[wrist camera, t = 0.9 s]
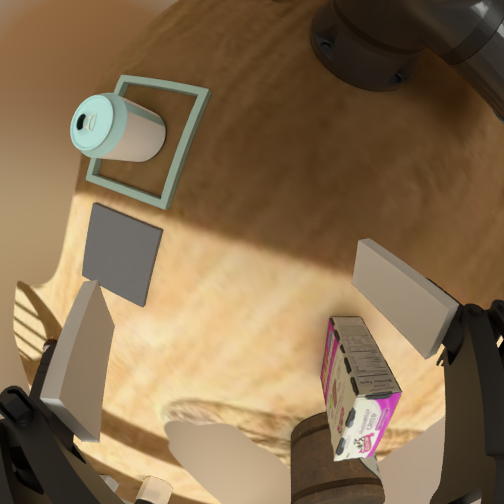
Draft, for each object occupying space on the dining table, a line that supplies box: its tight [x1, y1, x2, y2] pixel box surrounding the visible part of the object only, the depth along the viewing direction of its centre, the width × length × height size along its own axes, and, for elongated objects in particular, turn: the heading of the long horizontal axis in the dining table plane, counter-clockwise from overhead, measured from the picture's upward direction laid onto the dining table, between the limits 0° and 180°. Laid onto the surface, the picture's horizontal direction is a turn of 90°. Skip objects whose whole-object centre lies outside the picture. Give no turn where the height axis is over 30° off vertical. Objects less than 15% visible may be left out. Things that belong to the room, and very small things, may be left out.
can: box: [70, 93, 166, 162], centre depth 26 cm, size 7×7×12 cm
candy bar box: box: [321, 317, 402, 461], centre depth 28 cm, size 11×5×16 cm, turn 1°
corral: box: [86, 75, 212, 210], centre depth 31 cm, size 16×14×2 cm
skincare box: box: [99, 475, 119, 493], centre depth 53 cm, size 8×6×15 cm
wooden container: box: [291, 412, 385, 504], centre depth 31 cm, size 15×15×22 cm
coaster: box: [82, 203, 163, 307], centre depth 36 cm, size 12×12×1 cm
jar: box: [135, 476, 173, 504], centre depth 48 cm, size 9×8×12 cm
